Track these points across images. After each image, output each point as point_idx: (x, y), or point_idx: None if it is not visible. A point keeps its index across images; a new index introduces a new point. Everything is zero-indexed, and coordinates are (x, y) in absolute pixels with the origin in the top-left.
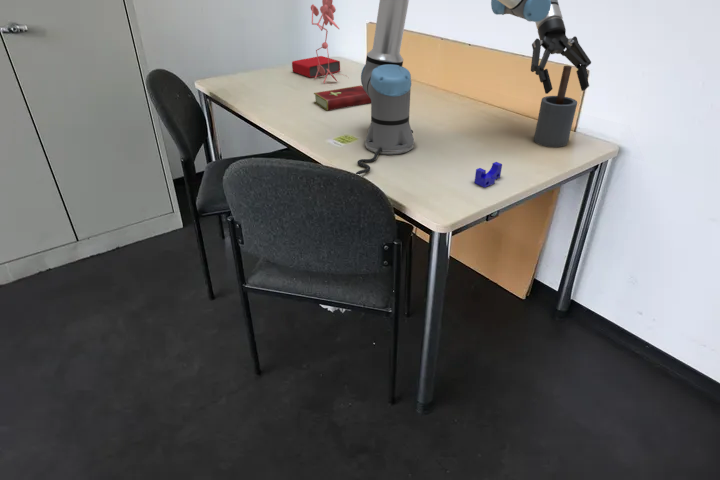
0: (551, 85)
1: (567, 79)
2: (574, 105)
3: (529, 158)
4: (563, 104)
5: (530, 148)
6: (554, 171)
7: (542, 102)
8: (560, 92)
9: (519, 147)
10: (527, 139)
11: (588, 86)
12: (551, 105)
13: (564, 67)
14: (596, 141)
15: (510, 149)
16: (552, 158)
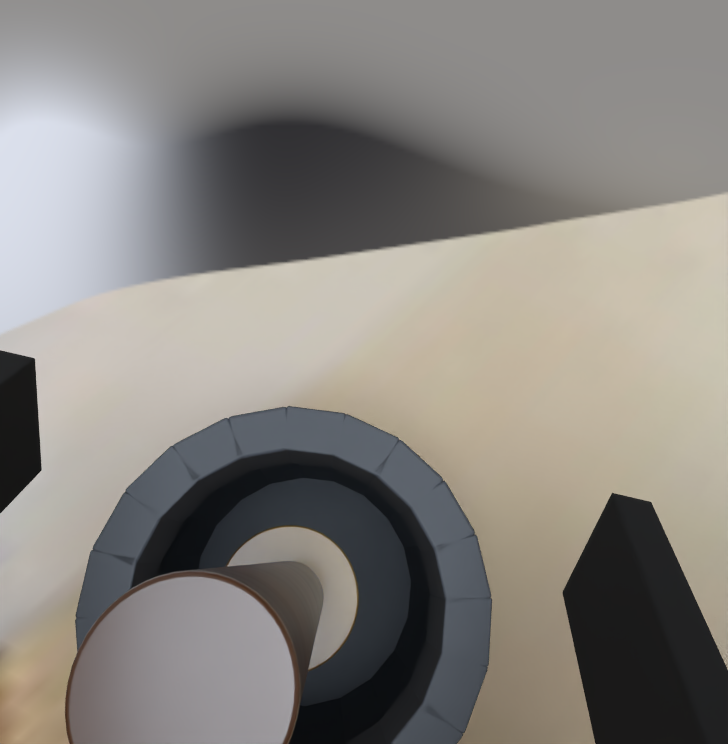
0: (632, 533)
1: (249, 565)
2: (251, 414)
3: (618, 423)
4: None
5: (516, 544)
6: (596, 240)
7: (473, 692)
8: (315, 597)
9: None
10: None
11: (4, 361)
12: (472, 532)
13: (300, 700)
14: None
15: None
16: (494, 363)
